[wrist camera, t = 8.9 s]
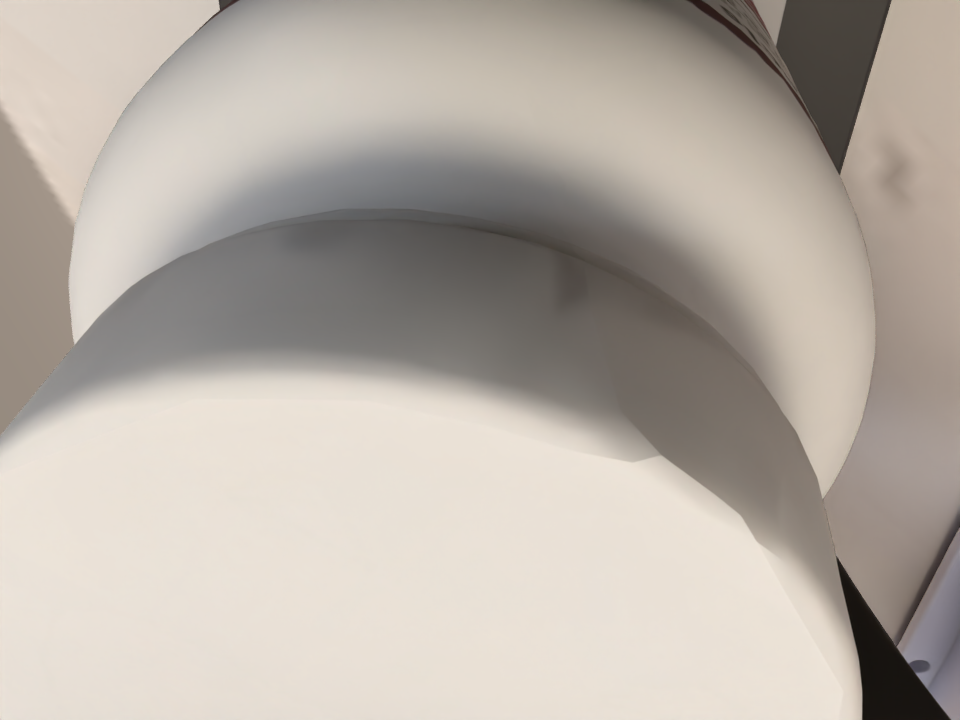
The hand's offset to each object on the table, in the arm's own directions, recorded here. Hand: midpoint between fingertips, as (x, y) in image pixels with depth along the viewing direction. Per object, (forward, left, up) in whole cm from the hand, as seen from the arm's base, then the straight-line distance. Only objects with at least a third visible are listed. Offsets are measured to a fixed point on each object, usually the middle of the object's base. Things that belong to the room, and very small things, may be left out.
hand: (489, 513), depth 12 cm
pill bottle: (+5, 0, -5) cm, 7 cm away
